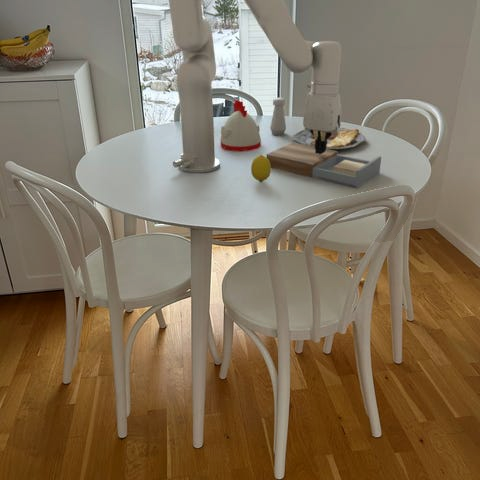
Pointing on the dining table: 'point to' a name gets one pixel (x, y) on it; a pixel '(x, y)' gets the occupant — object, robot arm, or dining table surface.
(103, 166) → the dining table surface
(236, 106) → the kitchen timer
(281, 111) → the salt shaker
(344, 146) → the food plate
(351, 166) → the tile
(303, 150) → the wooden square board
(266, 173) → the lemon
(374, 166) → the box
